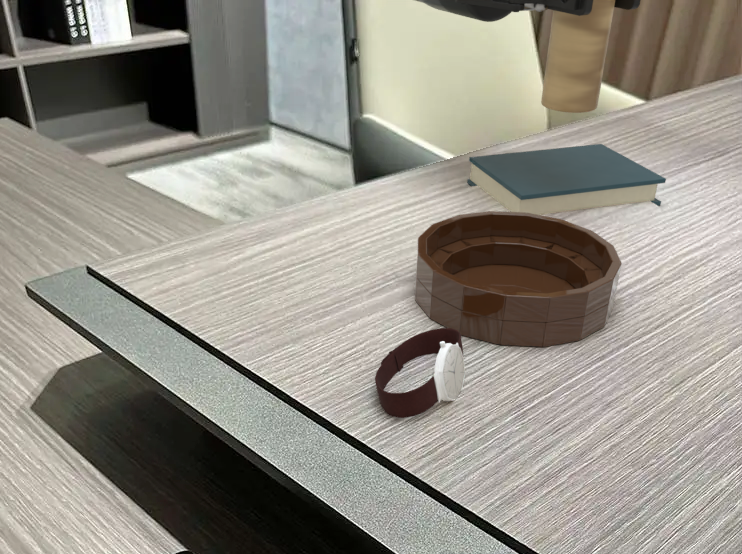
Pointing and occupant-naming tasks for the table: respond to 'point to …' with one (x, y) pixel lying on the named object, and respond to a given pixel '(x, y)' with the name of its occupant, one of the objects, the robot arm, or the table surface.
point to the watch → (439, 387)
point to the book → (563, 179)
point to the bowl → (516, 278)
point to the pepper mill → (577, 58)
